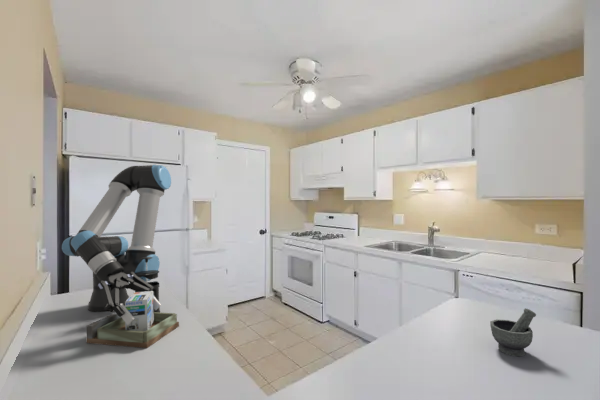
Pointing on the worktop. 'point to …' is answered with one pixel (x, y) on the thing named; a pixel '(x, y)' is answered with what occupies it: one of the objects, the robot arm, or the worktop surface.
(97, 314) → the worktop surface
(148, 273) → the french press
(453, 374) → the worktop surface
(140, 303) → the light bulb box
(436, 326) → the worktop surface
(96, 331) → the wooden drawer tray
